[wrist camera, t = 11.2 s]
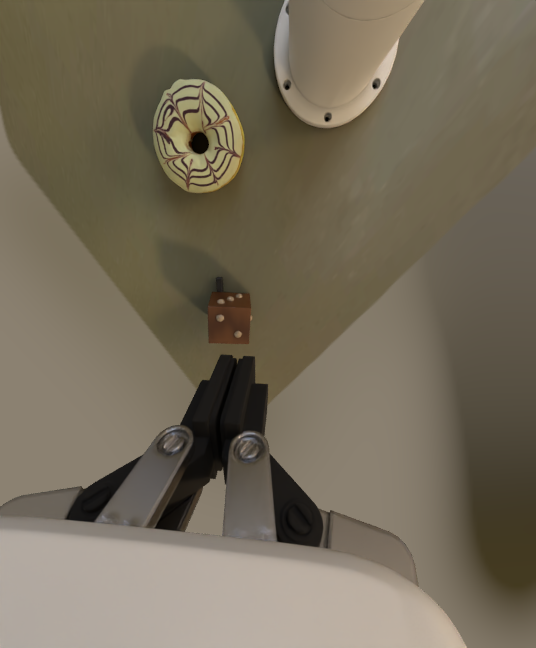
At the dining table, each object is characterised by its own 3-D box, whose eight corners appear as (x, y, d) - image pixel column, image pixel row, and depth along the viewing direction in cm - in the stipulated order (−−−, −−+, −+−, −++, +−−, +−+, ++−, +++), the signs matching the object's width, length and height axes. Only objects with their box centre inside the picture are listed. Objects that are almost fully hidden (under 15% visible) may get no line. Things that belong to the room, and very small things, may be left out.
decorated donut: (145, 125, 29) (127, 115, 26) (216, 67, 26) (206, 47, 23) (193, 208, 33) (183, 208, 30) (260, 165, 30) (256, 160, 27)
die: (207, 304, 32) (255, 306, 33) (212, 288, 38) (252, 290, 38) (208, 345, 35) (252, 345, 36) (212, 324, 40) (250, 325, 41)
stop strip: (217, 277, 38) (216, 278, 37) (222, 277, 38) (221, 278, 37) (222, 331, 42) (220, 333, 42) (226, 331, 42) (225, 333, 42)
